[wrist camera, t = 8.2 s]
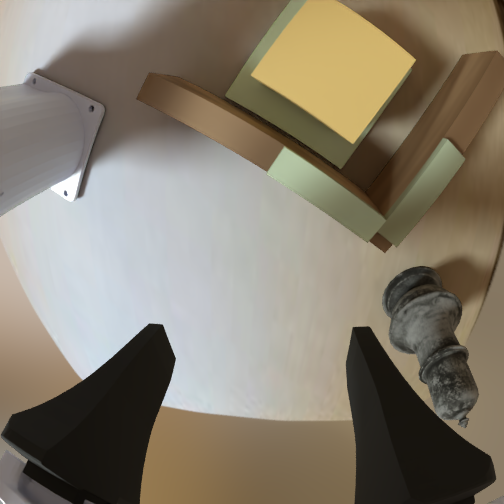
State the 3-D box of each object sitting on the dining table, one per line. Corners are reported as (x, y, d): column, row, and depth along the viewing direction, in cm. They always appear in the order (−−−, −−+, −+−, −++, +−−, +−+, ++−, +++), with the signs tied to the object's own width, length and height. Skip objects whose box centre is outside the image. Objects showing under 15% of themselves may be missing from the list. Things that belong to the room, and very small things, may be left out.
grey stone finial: (436, 249, 18) (517, 377, 8) (449, 303, 20) (504, 420, 10) (368, 285, 20) (407, 433, 10) (390, 333, 22) (421, 460, 12)
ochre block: (261, 83, 14) (250, 75, 10) (309, 19, 12) (316, -11, 8) (335, 132, 15) (353, 144, 11) (382, 69, 13) (416, 59, 9)
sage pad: (225, 96, 15) (224, 96, 15) (297, -6, 12) (297, -8, 11) (340, 168, 17) (340, 169, 16) (410, 70, 13) (412, 69, 13)
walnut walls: (166, 97, 16) (131, 99, 12) (282, -64, 9) (279, -100, 5) (368, 223, 18) (387, 257, 14) (477, 71, 12) (518, 71, 8)
